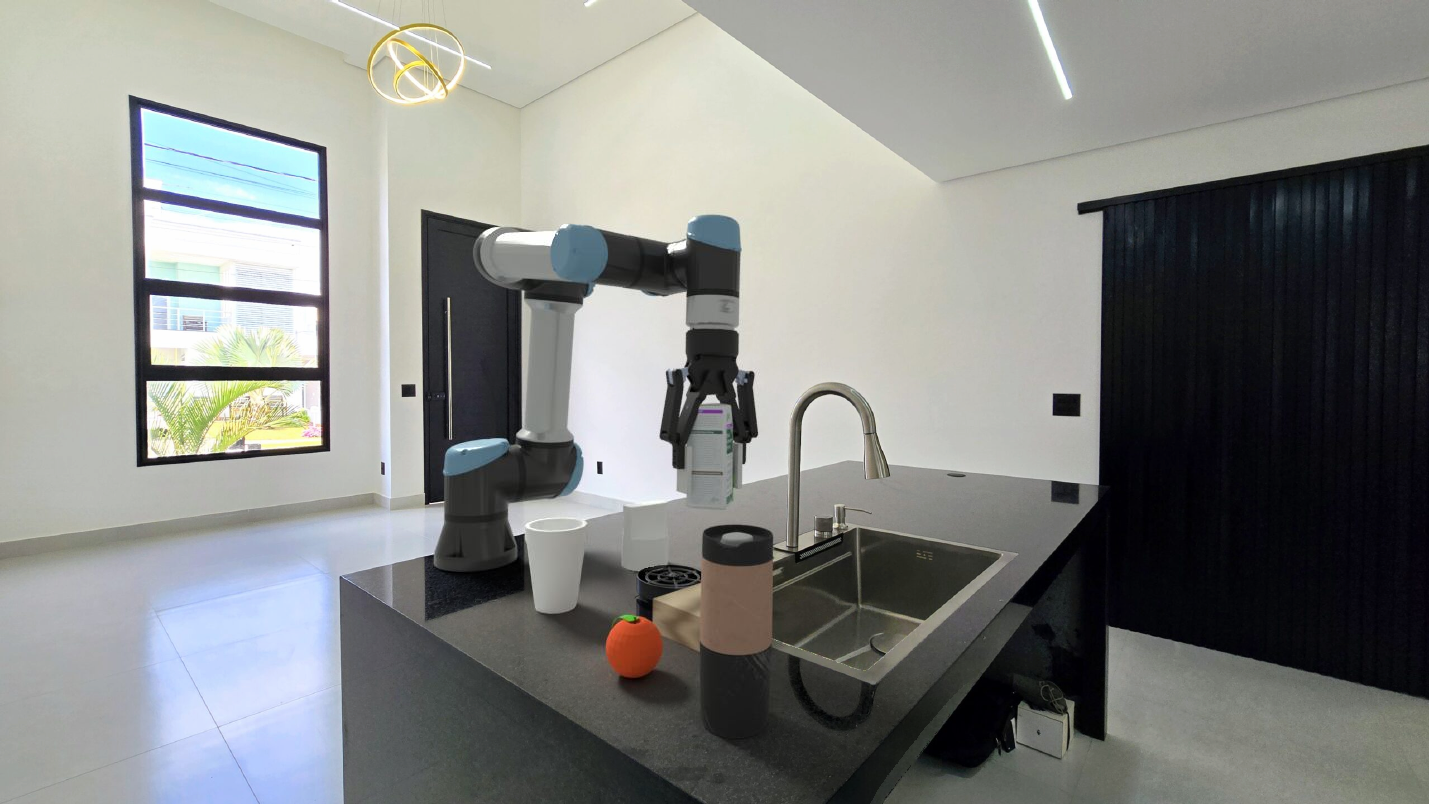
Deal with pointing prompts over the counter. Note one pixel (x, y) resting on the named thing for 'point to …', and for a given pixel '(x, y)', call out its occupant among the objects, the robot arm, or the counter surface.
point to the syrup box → (712, 458)
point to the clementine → (634, 646)
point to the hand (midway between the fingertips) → (709, 489)
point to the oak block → (679, 616)
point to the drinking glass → (645, 534)
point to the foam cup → (556, 561)
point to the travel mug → (736, 629)
